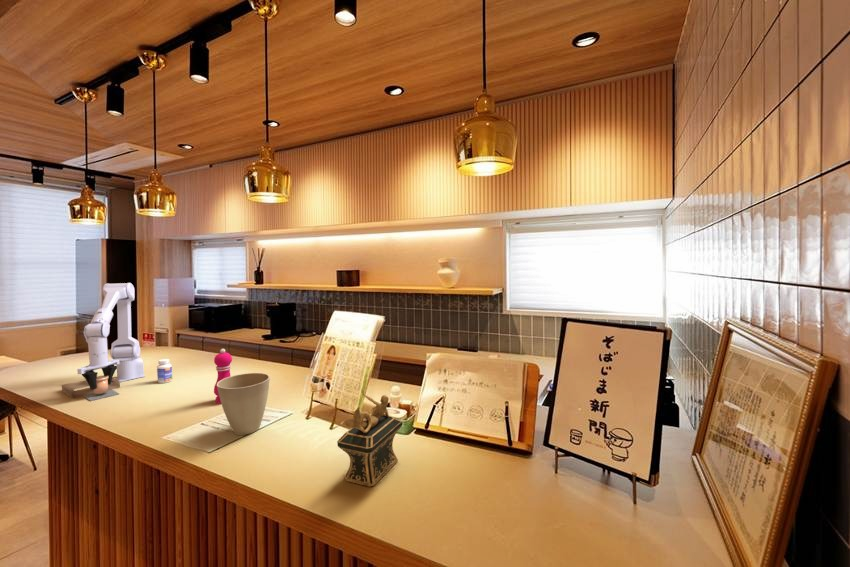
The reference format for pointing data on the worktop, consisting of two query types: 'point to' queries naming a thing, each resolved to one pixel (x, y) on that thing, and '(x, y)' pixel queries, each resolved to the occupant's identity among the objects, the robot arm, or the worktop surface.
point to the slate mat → (101, 395)
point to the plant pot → (244, 400)
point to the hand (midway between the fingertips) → (100, 386)
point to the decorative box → (370, 443)
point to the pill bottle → (164, 371)
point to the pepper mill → (222, 369)
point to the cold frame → (78, 393)
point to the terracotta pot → (101, 384)
